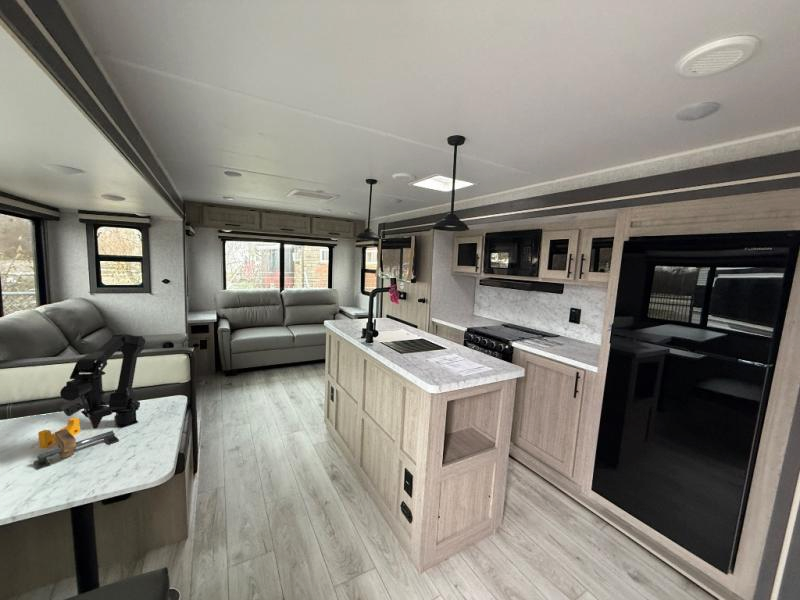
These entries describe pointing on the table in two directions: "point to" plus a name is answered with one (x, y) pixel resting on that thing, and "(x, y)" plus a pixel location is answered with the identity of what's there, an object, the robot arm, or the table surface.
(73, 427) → the pipe clamp
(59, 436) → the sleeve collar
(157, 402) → the table surface
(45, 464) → the grey guide rail
